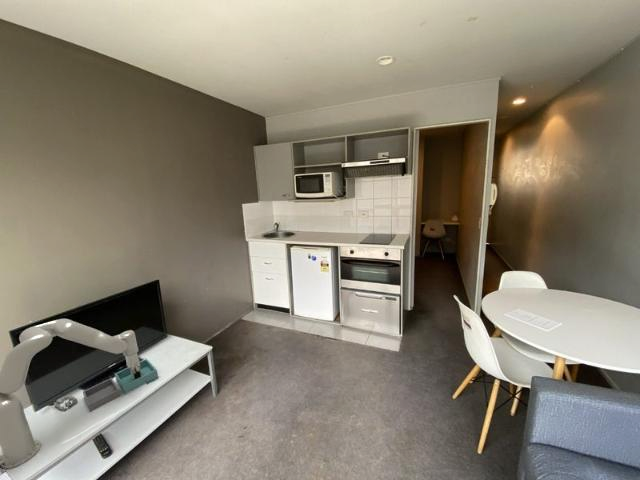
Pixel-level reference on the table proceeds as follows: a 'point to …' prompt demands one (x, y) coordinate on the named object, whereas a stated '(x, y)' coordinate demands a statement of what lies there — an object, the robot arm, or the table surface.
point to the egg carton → (66, 403)
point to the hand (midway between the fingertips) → (136, 375)
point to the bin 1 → (101, 394)
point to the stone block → (133, 373)
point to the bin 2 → (130, 384)
